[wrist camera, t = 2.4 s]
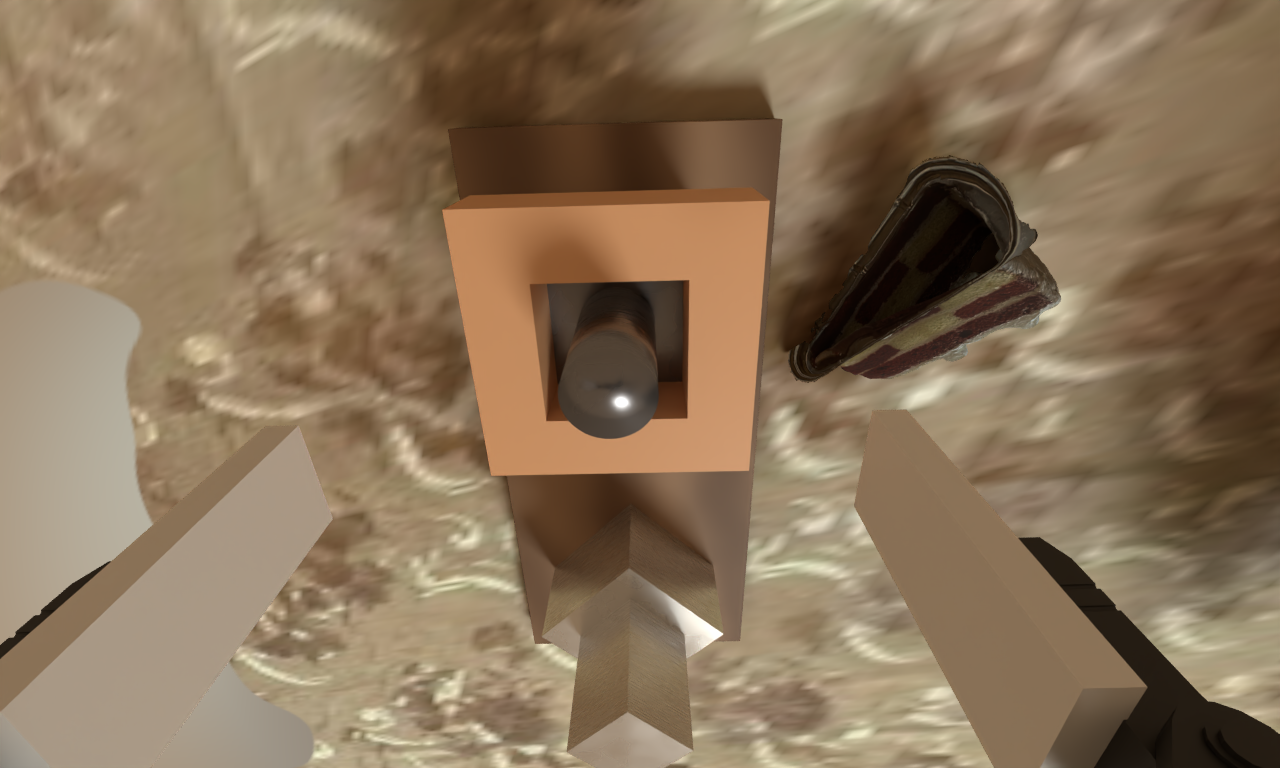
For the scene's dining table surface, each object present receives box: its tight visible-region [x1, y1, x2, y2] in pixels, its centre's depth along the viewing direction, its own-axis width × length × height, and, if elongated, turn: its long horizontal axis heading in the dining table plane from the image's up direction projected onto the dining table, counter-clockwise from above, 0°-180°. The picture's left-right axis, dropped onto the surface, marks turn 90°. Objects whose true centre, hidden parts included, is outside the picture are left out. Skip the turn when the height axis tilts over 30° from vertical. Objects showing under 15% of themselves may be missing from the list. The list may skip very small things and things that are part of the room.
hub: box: [542, 504, 723, 768], centre depth 29 cm, size 7×7×11 cm
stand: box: [547, 280, 683, 439], centre depth 21 cm, size 7×7×11 cm
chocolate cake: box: [788, 155, 1061, 383], centre depth 26 cm, size 10×7×12 cm
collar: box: [442, 187, 770, 476], centre depth 20 cm, size 10×10×3 cm
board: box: [448, 118, 782, 644], centre depth 31 cm, size 14×32×2 cm, turn 2°
